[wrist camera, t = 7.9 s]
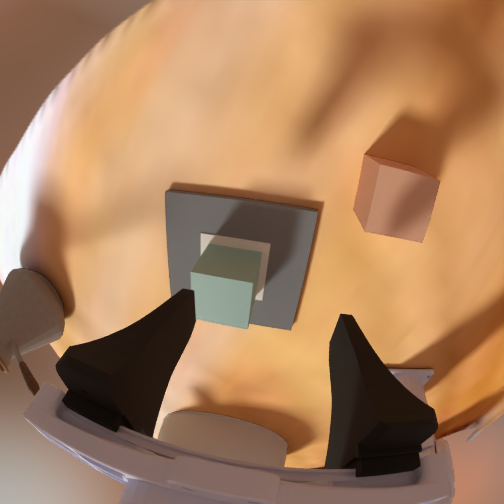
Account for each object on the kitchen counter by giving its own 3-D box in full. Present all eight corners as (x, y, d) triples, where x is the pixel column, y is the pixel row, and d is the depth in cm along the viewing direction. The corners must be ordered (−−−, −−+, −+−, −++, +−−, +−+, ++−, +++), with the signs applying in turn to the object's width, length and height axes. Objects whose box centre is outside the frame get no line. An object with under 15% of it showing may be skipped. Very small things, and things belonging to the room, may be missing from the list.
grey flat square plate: (291, 325, 24) (290, 331, 23) (174, 303, 25) (171, 308, 24) (317, 209, 19) (318, 212, 18) (168, 189, 20) (164, 192, 19)
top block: (402, 218, 18) (422, 242, 14) (353, 208, 18) (364, 231, 15) (415, 167, 16) (440, 180, 12) (363, 153, 16) (380, 164, 13)
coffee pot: (40, 318, 33) (-12, 380, 20) (12, 256, 28) (-55, 315, 15) (142, 348, 30) (86, 450, 17) (112, 267, 24) (15, 377, 11)
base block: (256, 295, 22) (247, 329, 19) (208, 286, 22) (192, 318, 19) (261, 252, 20) (253, 283, 17) (208, 243, 21) (190, 271, 17)
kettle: (133, 411, 41) (89, 504, 22) (209, 390, 32) (158, 546, 12) (225, 462, 48) (204, 543, 28) (312, 451, 39) (300, 558, 19)
